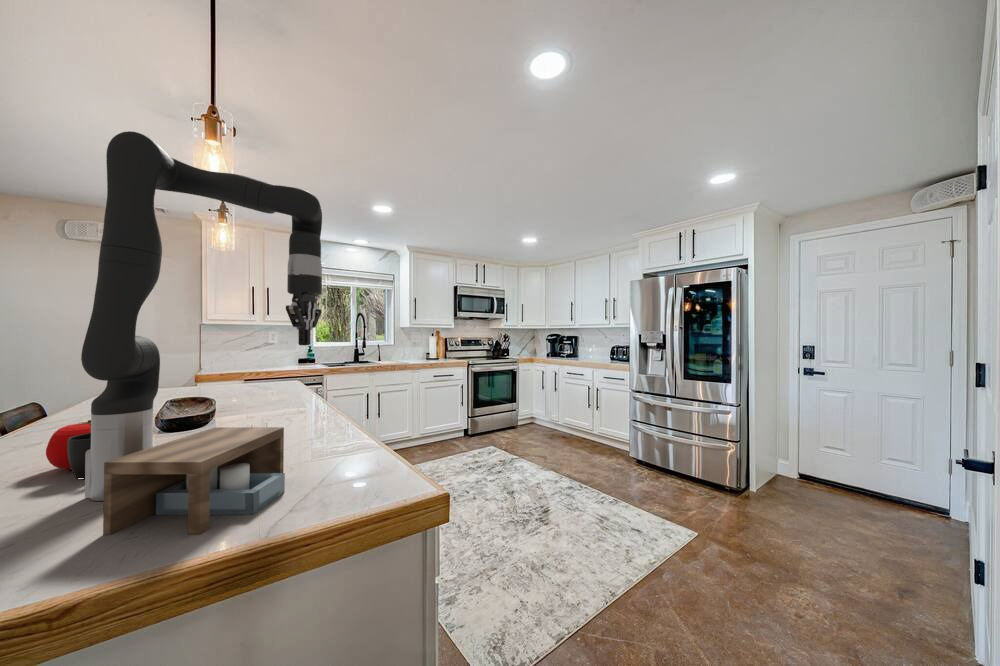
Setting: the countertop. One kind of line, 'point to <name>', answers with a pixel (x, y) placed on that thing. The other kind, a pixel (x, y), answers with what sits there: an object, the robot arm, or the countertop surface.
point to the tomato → (64, 443)
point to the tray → (226, 492)
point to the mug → (78, 453)
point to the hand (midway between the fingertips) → (304, 345)
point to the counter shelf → (185, 472)
